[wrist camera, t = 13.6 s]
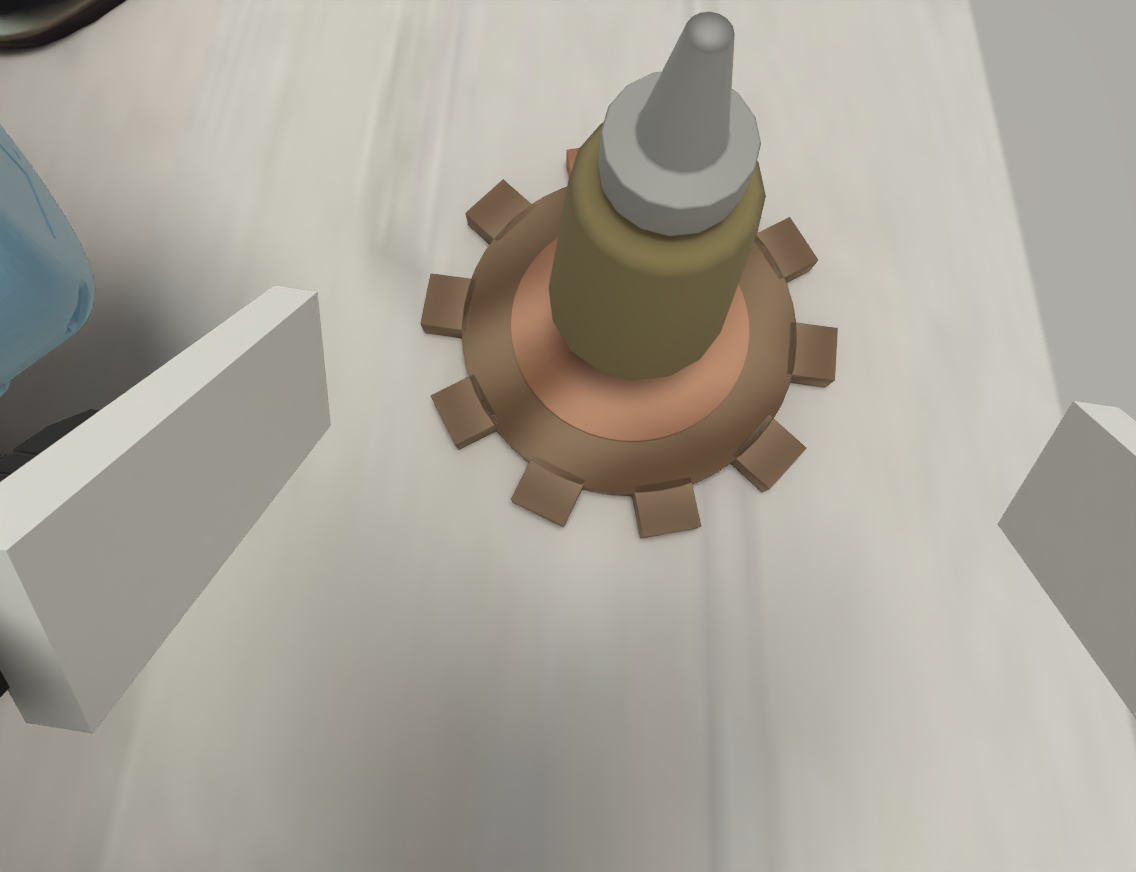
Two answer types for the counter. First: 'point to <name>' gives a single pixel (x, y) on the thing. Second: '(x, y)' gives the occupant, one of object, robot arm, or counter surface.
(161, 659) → the counter surface
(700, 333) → the squeeze bottle
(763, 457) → the sprocket disc
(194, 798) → the counter surface
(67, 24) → the salad plate
